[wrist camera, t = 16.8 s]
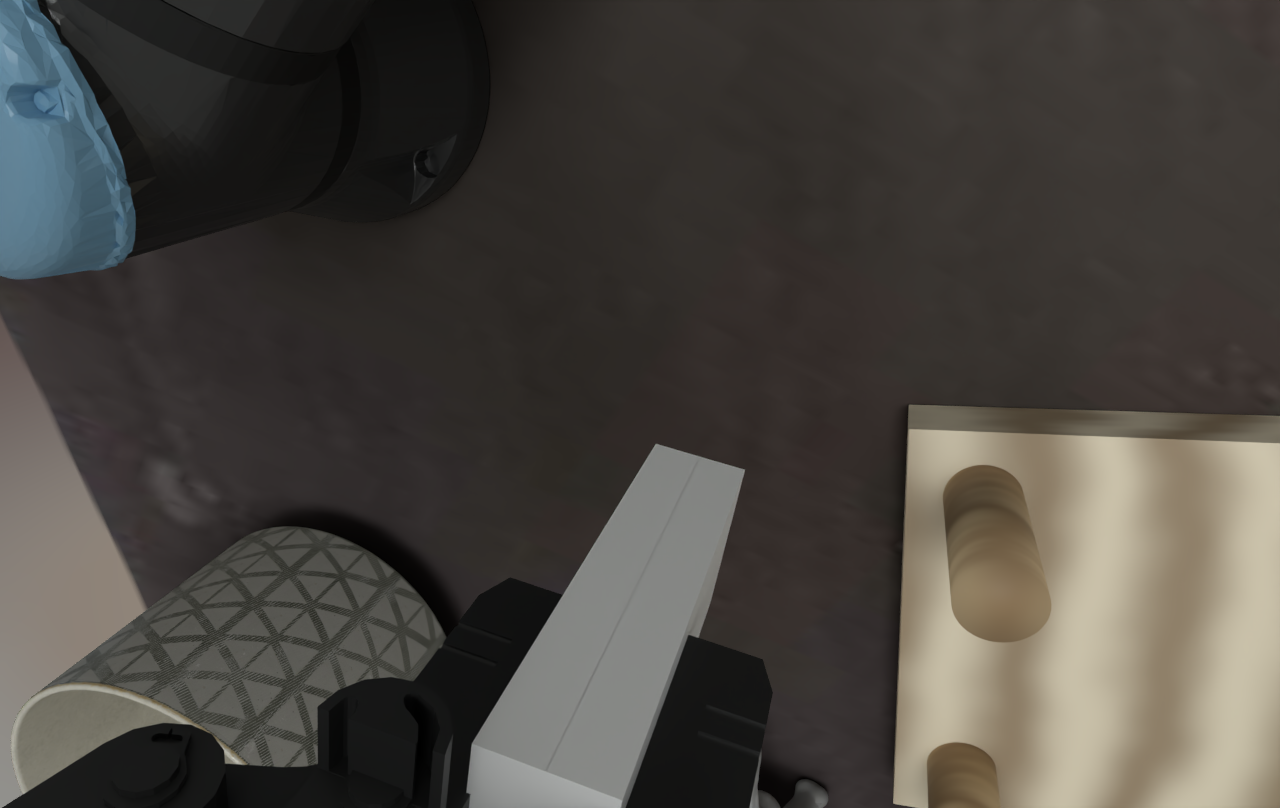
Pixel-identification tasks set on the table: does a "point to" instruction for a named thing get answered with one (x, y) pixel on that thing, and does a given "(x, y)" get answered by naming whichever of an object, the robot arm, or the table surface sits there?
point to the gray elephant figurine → (804, 802)
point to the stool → (1089, 610)
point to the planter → (238, 655)
